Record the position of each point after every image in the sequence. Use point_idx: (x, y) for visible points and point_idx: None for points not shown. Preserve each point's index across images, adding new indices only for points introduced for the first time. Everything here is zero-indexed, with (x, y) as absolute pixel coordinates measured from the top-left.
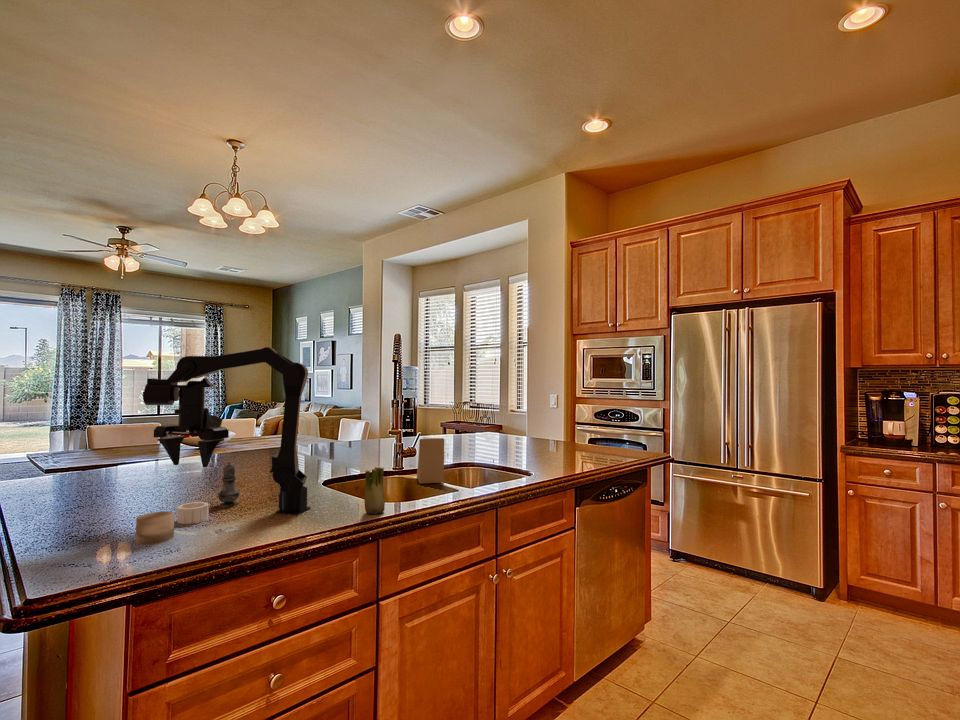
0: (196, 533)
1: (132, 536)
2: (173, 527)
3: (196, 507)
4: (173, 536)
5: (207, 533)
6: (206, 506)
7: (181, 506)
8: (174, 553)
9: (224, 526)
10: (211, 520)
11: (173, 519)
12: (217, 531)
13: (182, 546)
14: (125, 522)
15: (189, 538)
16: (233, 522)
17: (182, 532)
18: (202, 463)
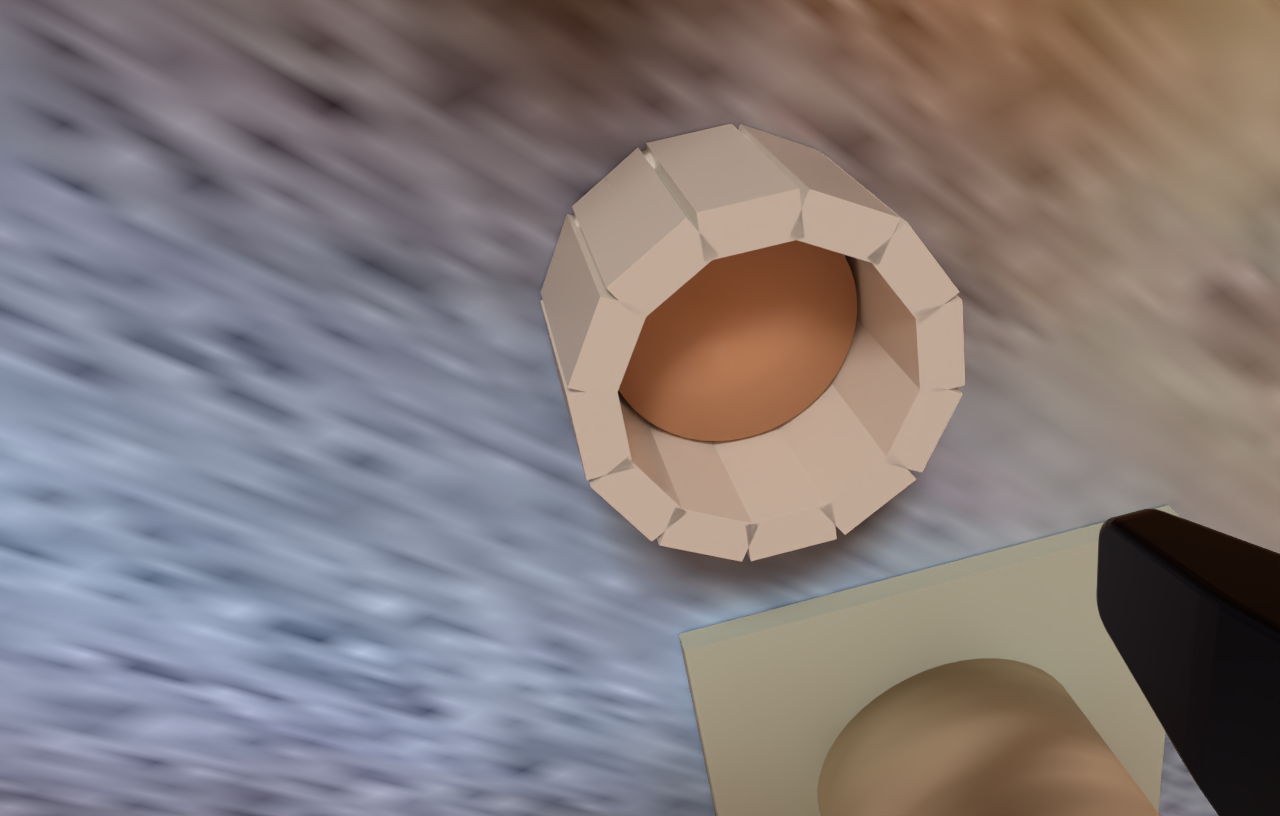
0: None
1: (625, 793)
2: (1107, 746)
3: (906, 419)
4: (1059, 684)
5: (1186, 431)
6: (957, 296)
7: (671, 497)
8: None
9: (1196, 213)
10: (873, 144)
11: (1155, 809)
12: (1238, 350)
13: None
14: (33, 692)
15: None
16: (1194, 58)
17: (1021, 588)
18: (1189, 727)
